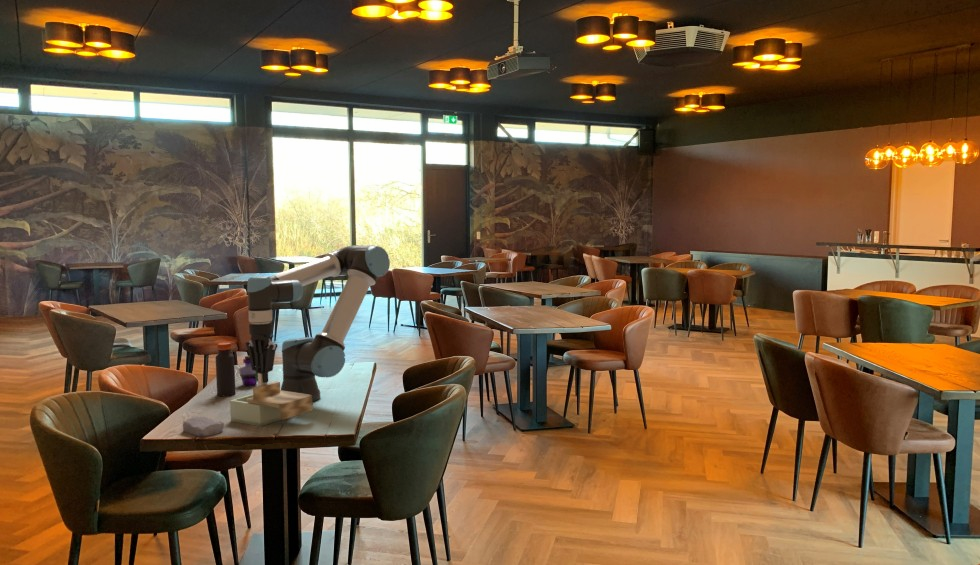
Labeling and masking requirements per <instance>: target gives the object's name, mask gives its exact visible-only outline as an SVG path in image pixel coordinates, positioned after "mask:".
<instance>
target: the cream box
mask: <svg viewBox="0 0 980 565" xmlns="http://www.w3.org/2000/svg"><path fill="white" fill-rule="evenodd" d="M251 397H253V393H252V394H249V395H245V396H241V397H238V398H235V399H230V400H229V405H230V406H229V407H230V421H231V422H234V423H235V422H236V423H241V424H244V425H250V426H256V427H263V426H266V425H269V424H272V423H275V422H278V421H282V420H283V419H281V407H280V408H277V407H271V406H265V405H259V404H253V403H247V400H246V399H247V398H251Z"/></svg>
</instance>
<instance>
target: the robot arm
mask: <svg viewBox="0 0 980 565" xmlns="http://www.w3.org/2000/svg"><path fill="white" fill-rule="evenodd" d="M390 263H391V260H390V258H389V254H388V252H387V251H386V249H384V248H383V247H382V246H379V245H374V244H371V245H361V244H360V245H359V244H358V245H356V244H354V245H347V246H344V247H342V248H339V249H336V250H334V251H331V252H328V253H326V254H325V255H324V257H322V258H318V259H316V260H313V261H311V262H307V263H305V264H302V265H299V266H298V265H297V266H296V267H293V268H290V269H288V270H284V271H281V272H279V273H275V274H273V275H270V276H265V275H263V276H262V275H261V276H259V275H258V276H251V277H249V278H248V279H247V284H246V286H247V288H246V292H247V307H248V309H247V310H248V322H249V324H248V333H249V335H250V340H249V341H247V342H245V346H246V349H247V352H248V356H249V357H250V362H251V367H252V370H255V371H256V373H257V385H258V386H260V385H264V384H268V382H269V373H270V372H272V371H274V363H275V357H276V350H277V349H278V344H277V343H274V342H273V339H272V336H271V335H272V334H273V323H272V321H273V310H272V309H273V308H272V307H273V304H280V303H281V304H282V303H293V302H299V301H301V299H302V298H303V295H304V288H303V287H305V286H308V285H311V284H313V283H315V282H318V281H321V280H323V279H326V278H329V277H333V278H336V277H339V276H343V275H344V276H345V275H347V276H348V277H347V280H346V282H345V284H344V286H343V288H342V290H341V292H340V294H339V296H338V298H337V300H336V303H335V304H334V306H333V309H332V311H331V313H330V315H329V317H328V319H327V321H326V323H325V325H324V327H323V329H322V331H321V332H319V333H317V334H315V336H314V337H312V336H309V337H300V338H299V337H298V338H292V339H286V340H284V341H283V342H282V345H281V352H282V353H281V354H282V355H281V356H282V382H281V383H282V384H281V385H280V390H282V391H289V392H296V393H302V394H309V395H312V402H315V401H318V400H320V399H321V390H320V388H319V386H318V383H317V379H316V377H317V378H332V377H334V376H336V375H338V374H339V373H340V372H341V371H342V370H343V368H344V366H345V365H346V358H345V357H346V354H345V349H346V346H345V343H344V342H345V339H346V337H347V336H348V333H349V331H350V328H351V327H352V325H353V323H354V320H355V318H356V316H357V314H358V312H359V309H360V307H361V306H362V303H363V301H364V299H365V297H366V295H367V293H368V291H369V289H370V287H371V286H375V285H376V283H377V281H378V280H379V277H383V276H385V275H387V273H388V271H389V269H390V266H391V265H390Z"/></svg>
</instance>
